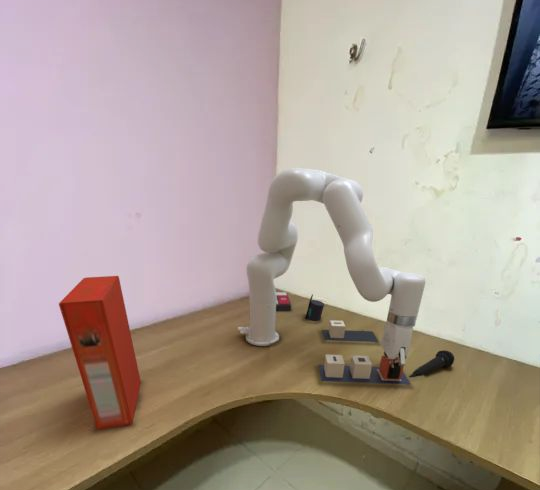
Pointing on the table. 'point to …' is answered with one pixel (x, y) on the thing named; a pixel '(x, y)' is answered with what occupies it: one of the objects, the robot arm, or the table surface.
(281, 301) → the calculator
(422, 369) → the microphone
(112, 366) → the file binder
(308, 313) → the speaker
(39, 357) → the table surface
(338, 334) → the block
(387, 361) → the block
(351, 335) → the back mat
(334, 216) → the robot arm
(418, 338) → the table surface
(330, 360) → the white cube
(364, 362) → the block
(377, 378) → the front mat
